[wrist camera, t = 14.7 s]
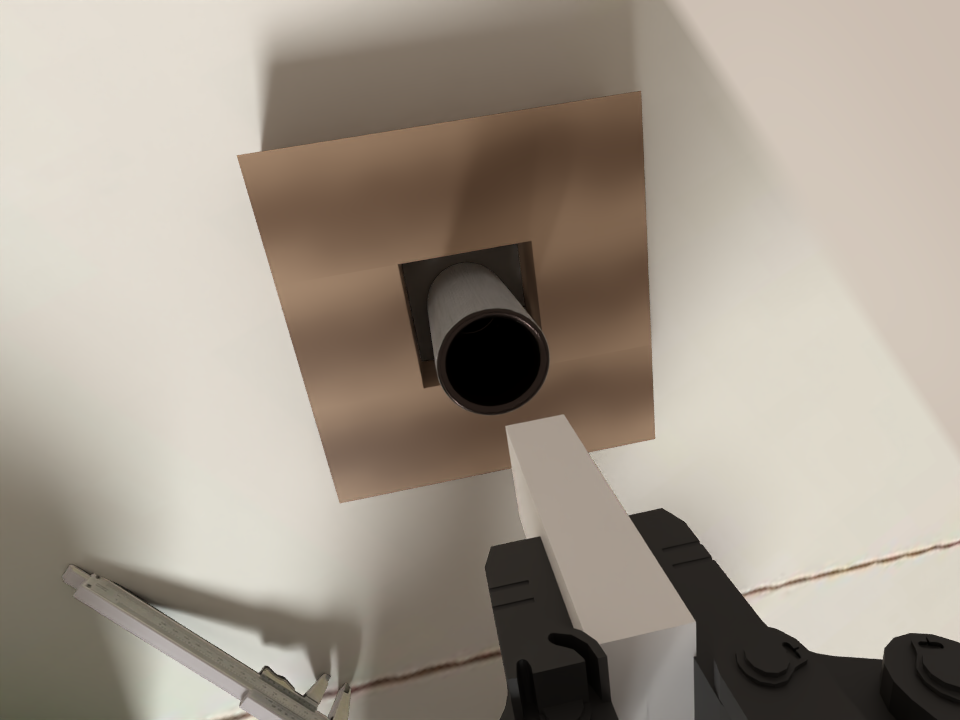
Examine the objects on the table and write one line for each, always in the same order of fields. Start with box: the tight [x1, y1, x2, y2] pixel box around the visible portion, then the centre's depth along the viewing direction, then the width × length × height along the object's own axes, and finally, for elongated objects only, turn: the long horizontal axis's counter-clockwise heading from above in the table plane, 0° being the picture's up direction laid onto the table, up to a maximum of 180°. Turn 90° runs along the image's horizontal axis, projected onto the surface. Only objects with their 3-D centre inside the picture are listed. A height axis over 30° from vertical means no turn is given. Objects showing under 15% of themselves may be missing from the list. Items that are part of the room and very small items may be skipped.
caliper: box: [62, 565, 351, 720], centre depth 34 cm, size 20×1×6 cm, turn 51°
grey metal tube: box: [427, 263, 550, 415], centre depth 26 cm, size 4×4×10 cm
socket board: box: [237, 91, 655, 503], centre depth 29 cm, size 18×18×4 cm
